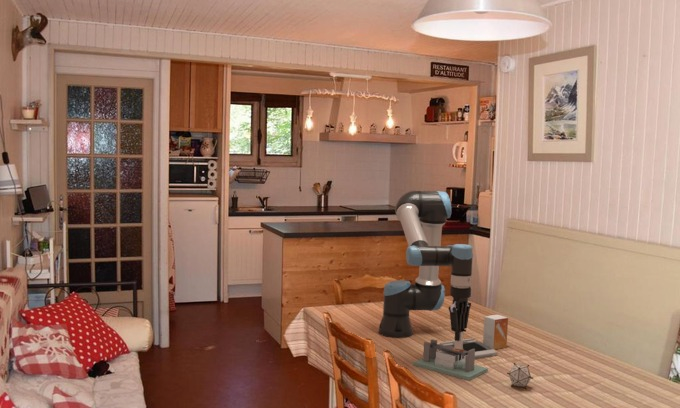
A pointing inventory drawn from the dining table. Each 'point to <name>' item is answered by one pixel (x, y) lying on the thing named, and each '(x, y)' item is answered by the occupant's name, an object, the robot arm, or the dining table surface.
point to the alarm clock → (479, 347)
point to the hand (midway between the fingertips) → (458, 348)
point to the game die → (520, 375)
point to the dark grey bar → (449, 349)
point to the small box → (495, 331)
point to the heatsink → (449, 360)
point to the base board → (463, 372)
